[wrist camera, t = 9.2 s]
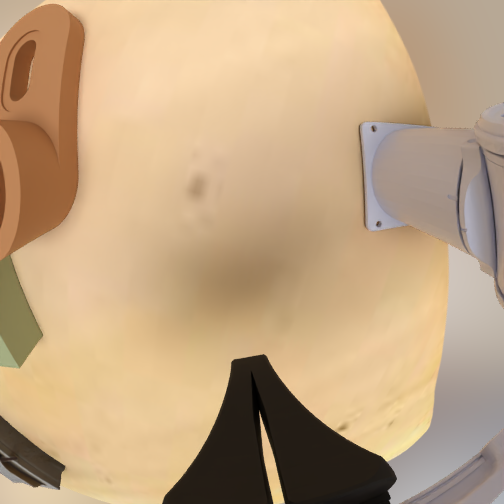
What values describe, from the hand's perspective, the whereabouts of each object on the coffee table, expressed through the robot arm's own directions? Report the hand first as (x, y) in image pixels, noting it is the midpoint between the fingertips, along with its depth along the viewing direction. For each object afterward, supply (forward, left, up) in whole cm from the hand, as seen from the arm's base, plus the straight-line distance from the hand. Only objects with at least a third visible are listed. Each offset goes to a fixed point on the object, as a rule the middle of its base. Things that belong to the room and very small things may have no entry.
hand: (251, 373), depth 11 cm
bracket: (+13, -15, -10) cm, 22 cm away
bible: (+52, +27, -10) cm, 59 cm away
